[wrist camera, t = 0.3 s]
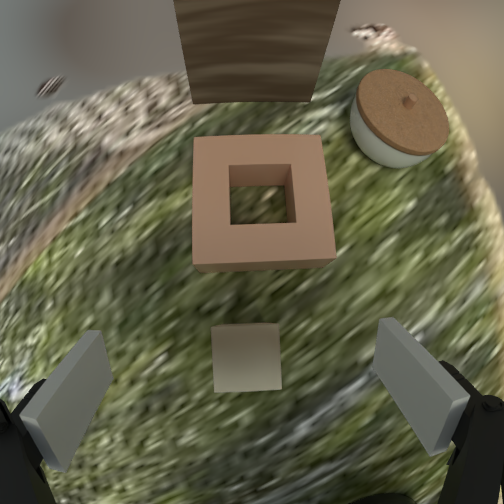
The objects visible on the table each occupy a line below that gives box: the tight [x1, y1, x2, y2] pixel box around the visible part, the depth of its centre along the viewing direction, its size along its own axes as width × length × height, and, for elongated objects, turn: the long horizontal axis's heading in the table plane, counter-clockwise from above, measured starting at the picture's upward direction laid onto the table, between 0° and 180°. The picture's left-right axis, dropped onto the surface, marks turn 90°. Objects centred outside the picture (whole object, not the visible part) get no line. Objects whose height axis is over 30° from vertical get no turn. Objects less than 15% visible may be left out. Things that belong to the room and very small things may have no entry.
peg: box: [211, 322, 282, 392], centre depth 24 cm, size 4×4×12 cm
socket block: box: [192, 134, 336, 273], centre depth 30 cm, size 12×12×5 cm
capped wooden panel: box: [173, 0, 341, 104], centre depth 20 cm, size 7×16×32 cm, turn 93°
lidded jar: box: [350, 69, 449, 168], centre depth 31 cm, size 11×11×9 cm
